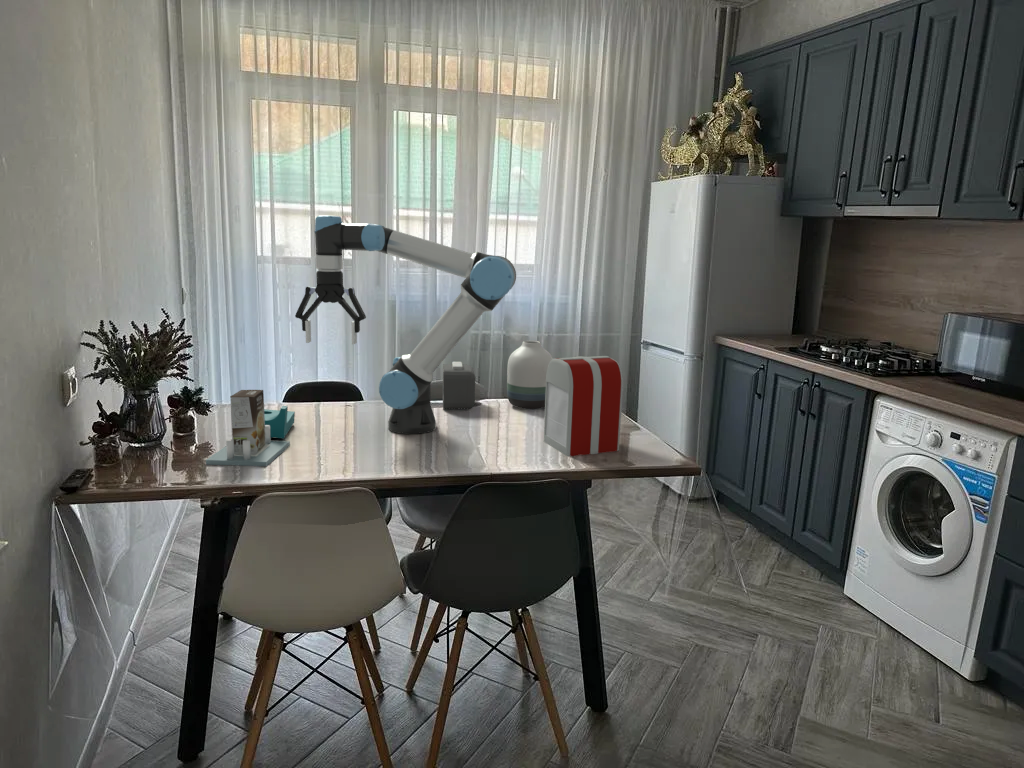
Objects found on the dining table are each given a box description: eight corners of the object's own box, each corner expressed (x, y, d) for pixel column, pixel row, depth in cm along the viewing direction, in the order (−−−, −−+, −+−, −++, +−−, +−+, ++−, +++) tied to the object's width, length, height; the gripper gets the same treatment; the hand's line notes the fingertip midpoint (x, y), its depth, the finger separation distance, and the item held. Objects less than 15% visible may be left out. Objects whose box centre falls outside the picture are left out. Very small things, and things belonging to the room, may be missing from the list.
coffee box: (257, 454, 189) (254, 396, 186) (232, 454, 189) (229, 396, 185) (266, 444, 198) (263, 389, 195) (243, 444, 197) (240, 389, 194)
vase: (553, 412, 249) (556, 346, 244) (505, 411, 249) (507, 344, 244) (551, 401, 266) (553, 339, 261) (507, 400, 266) (508, 338, 261)
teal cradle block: (283, 442, 207) (285, 408, 205) (245, 440, 205) (247, 405, 203) (293, 426, 225) (295, 395, 223) (259, 424, 223) (260, 392, 221)
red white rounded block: (542, 440, 214) (545, 354, 209) (592, 436, 221) (597, 351, 215) (567, 456, 199) (571, 363, 194) (620, 450, 206) (626, 360, 201)
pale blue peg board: (290, 445, 203) (289, 424, 201) (266, 466, 184) (265, 443, 183) (235, 443, 203) (233, 422, 202) (206, 464, 184) (204, 441, 183)
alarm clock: (442, 400, 263) (443, 359, 260) (472, 400, 264) (473, 360, 261) (443, 411, 247) (443, 368, 244) (475, 411, 248) (475, 368, 245)
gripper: (375, 270, 206) (376, 342, 211) (290, 268, 206) (293, 339, 211) (369, 272, 199) (370, 346, 203) (282, 269, 199) (285, 343, 203)
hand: (331, 343), depth 207 cm, fingers open, 13 cm apart
